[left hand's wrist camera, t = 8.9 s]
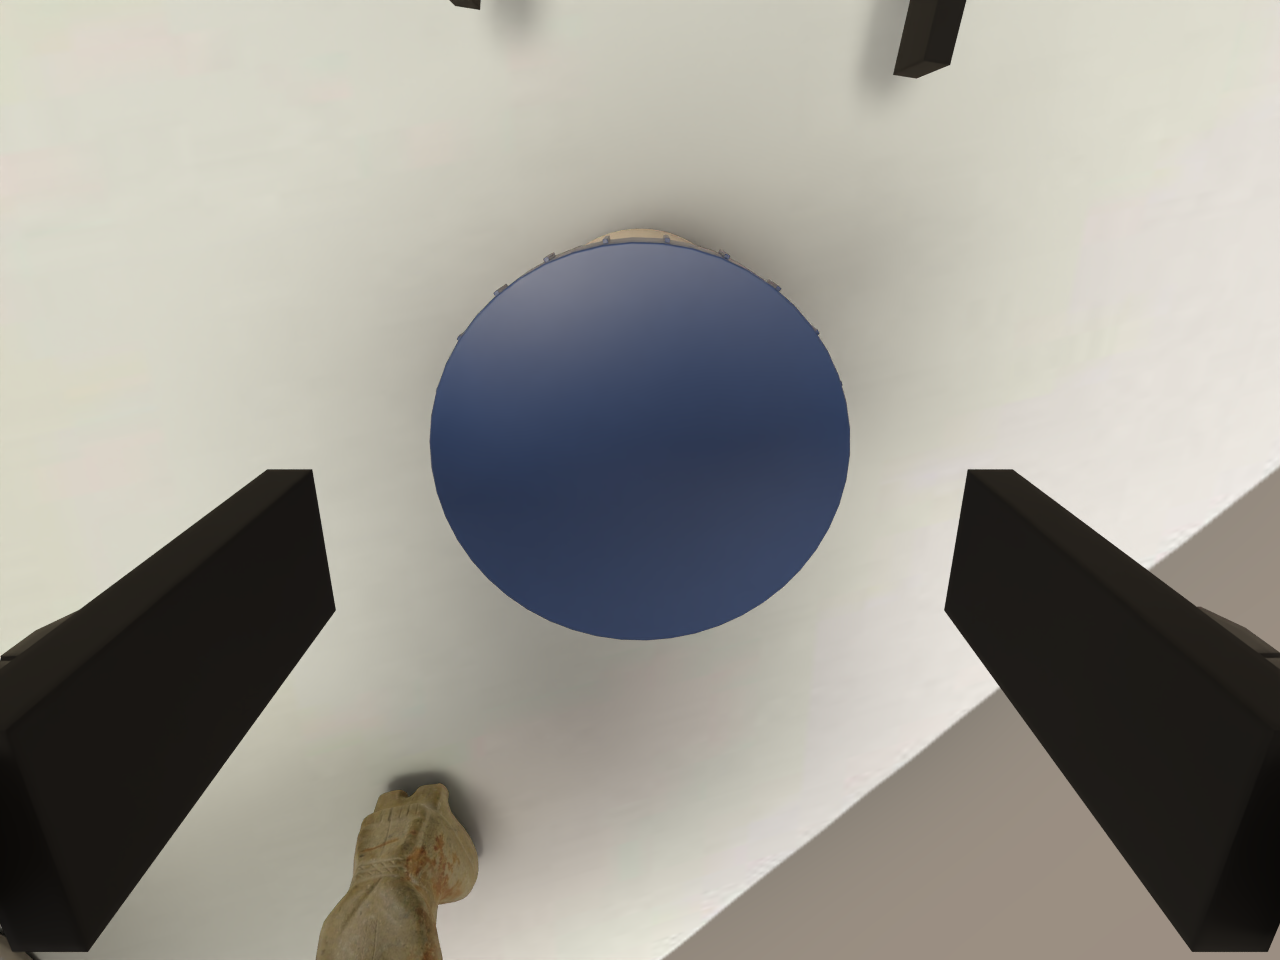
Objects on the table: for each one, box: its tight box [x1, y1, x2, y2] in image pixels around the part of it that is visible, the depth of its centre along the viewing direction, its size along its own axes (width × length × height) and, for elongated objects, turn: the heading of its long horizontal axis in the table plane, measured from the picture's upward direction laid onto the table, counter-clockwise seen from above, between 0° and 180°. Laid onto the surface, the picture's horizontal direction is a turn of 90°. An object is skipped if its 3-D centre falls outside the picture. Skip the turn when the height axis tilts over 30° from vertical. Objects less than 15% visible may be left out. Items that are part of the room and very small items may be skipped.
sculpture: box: [316, 783, 478, 960], centre depth 34 cm, size 6×7×15 cm
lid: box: [430, 235, 850, 640], centre depth 18 cm, size 10×10×2 cm
